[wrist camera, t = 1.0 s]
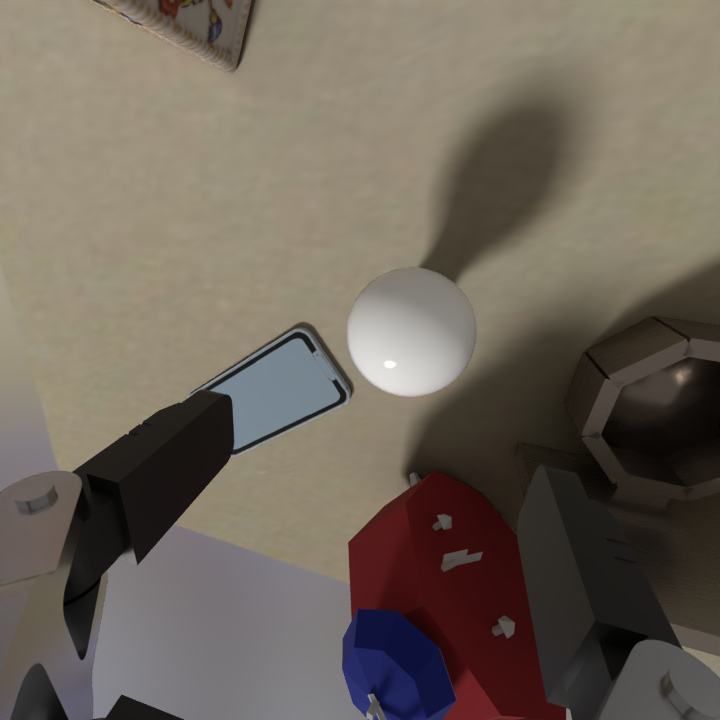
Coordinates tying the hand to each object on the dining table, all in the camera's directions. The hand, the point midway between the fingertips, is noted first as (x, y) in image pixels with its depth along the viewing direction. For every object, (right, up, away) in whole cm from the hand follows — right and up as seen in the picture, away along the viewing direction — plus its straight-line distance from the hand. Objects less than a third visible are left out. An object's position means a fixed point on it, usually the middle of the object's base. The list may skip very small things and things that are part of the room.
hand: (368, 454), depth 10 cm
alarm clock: (+9, -10, +22) cm, 26 cm away
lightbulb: (+4, +7, +16) cm, 18 cm away
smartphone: (-8, -1, +23) cm, 24 cm away
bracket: (+19, -1, +15) cm, 24 cm away
